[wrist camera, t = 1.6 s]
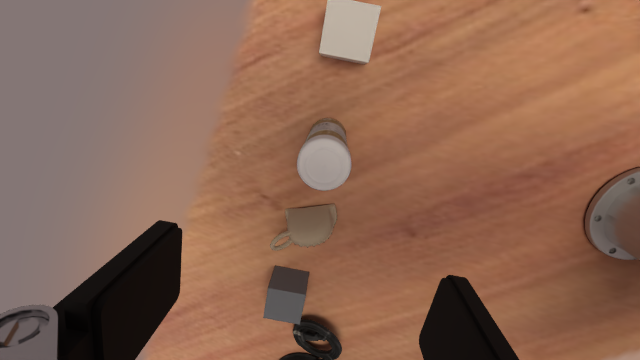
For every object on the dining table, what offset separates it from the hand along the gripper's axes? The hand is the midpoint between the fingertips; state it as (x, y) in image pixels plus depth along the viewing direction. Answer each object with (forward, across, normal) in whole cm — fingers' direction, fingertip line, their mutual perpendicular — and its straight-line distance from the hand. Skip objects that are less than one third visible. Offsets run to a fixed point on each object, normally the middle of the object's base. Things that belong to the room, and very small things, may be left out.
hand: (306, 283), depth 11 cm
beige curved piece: (+29, 0, +12) cm, 31 cm away
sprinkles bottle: (+28, 0, 0) cm, 29 cm away
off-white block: (+28, 0, -11) cm, 31 cm away
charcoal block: (+28, +1, +23) cm, 36 cm away
